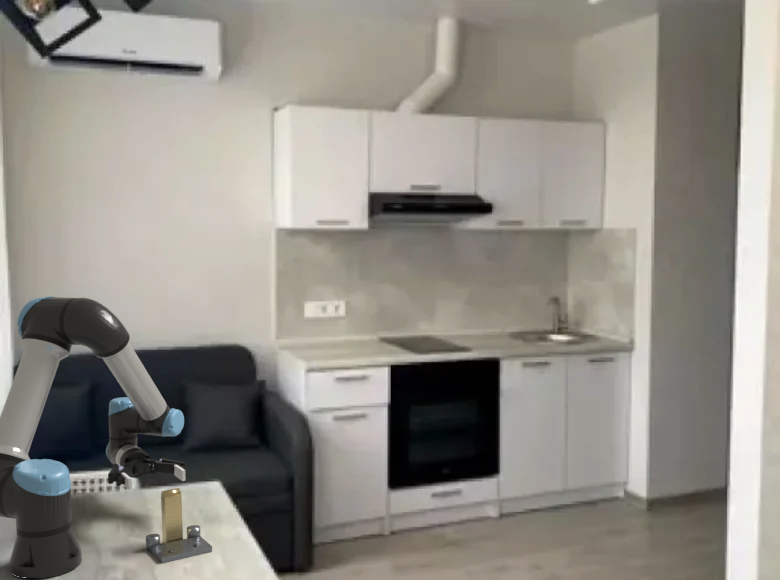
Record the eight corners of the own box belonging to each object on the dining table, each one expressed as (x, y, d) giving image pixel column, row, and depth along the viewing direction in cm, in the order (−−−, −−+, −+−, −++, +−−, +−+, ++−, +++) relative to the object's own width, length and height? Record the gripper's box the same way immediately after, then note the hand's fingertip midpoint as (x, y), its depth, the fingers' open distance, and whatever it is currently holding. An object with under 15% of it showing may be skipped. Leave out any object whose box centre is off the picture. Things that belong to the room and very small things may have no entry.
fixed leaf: (159, 563, 192) (158, 550, 192) (144, 547, 201) (143, 535, 201) (214, 550, 199) (214, 538, 199) (197, 536, 209) (197, 524, 208)
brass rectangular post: (166, 547, 202) (164, 492, 201) (162, 543, 204) (160, 489, 203) (183, 543, 204) (181, 489, 203) (178, 539, 207) (177, 486, 205)
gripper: (178, 468, 238) (205, 486, 220) (86, 482, 224) (107, 503, 206) (178, 441, 237) (205, 458, 219) (85, 454, 224) (106, 472, 206)
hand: (157, 479), depth 213 cm, fingers open, 13 cm apart
